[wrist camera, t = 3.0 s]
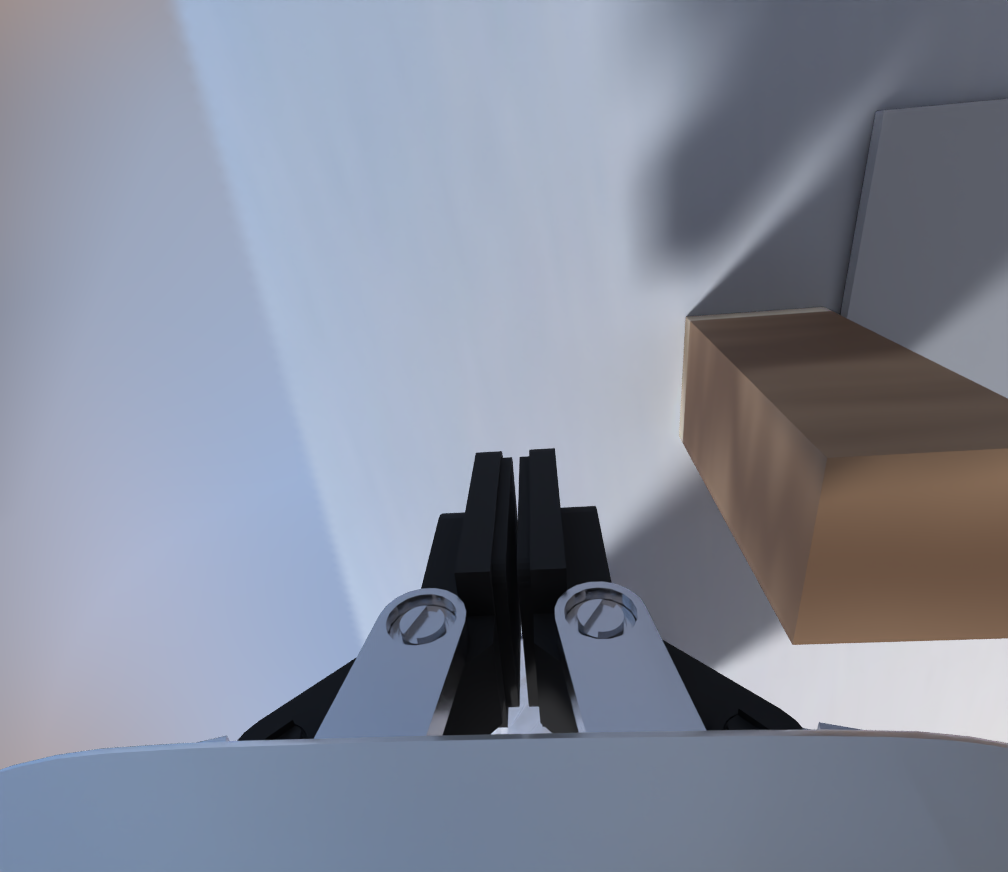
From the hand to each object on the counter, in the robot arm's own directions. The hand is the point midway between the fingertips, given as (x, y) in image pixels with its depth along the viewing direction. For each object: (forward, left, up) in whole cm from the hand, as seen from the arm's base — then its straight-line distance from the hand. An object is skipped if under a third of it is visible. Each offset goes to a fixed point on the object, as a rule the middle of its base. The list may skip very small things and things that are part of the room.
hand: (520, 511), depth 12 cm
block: (0, +7, -7) cm, 10 cm away
